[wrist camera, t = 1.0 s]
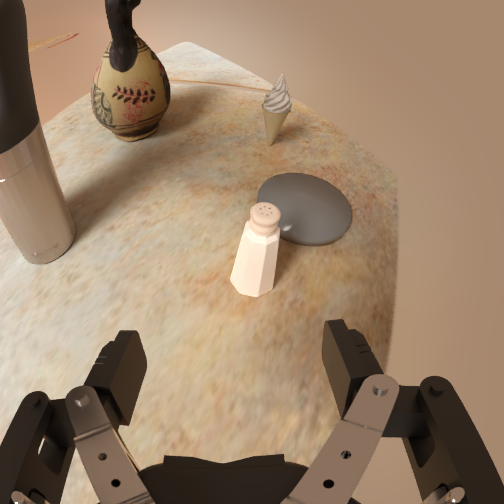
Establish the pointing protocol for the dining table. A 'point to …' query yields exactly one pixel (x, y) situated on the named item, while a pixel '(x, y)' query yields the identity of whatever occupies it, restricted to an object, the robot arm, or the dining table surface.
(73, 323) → the dining table surface
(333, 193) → the grey round coaster
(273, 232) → the pepper shaker
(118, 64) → the ceramic jug
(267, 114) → the ice cream cone
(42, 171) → the robot arm
